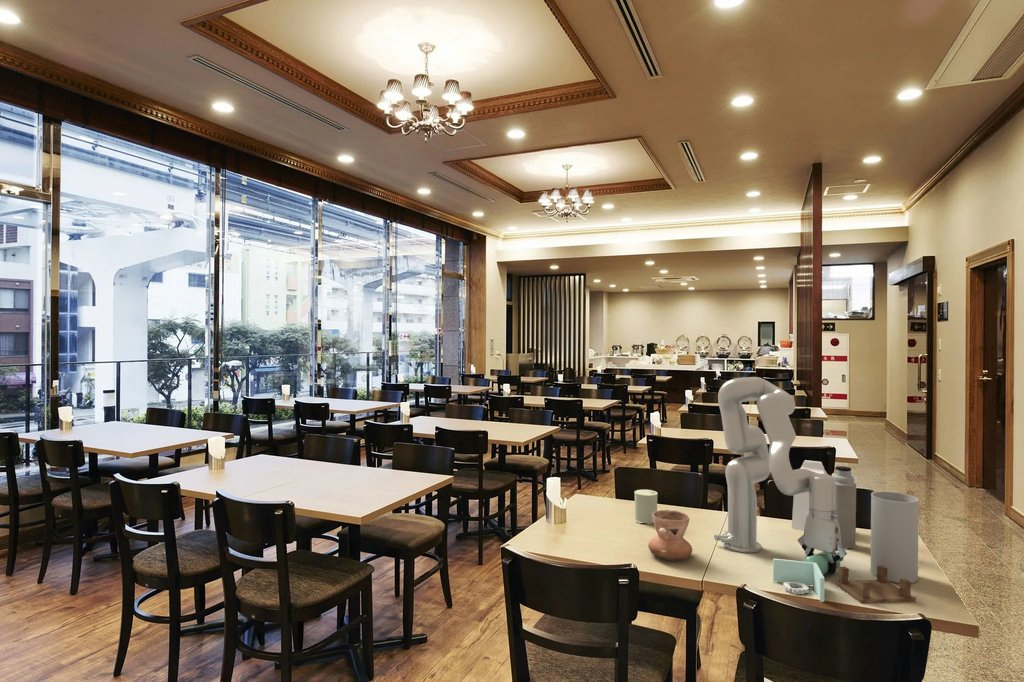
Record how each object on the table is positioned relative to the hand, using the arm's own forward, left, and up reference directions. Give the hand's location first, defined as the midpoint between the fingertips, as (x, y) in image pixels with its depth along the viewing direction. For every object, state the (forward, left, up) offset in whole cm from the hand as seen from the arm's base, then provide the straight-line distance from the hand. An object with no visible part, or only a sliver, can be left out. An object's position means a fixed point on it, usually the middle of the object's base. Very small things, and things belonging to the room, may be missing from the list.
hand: (821, 569), depth 191 cm
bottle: (+2, +1, -1) cm, 3 cm away
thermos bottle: (+22, +24, -1) cm, 33 cm away
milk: (+22, +43, -1) cm, 48 cm away
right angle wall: (-15, -13, -2) cm, 20 cm away
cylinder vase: (+21, -4, -1) cm, 21 cm away
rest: (+7, -15, -1) cm, 17 cm away
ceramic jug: (-43, +17, -1) cm, 46 cm away
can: (-41, +55, -1) cm, 69 cm away
